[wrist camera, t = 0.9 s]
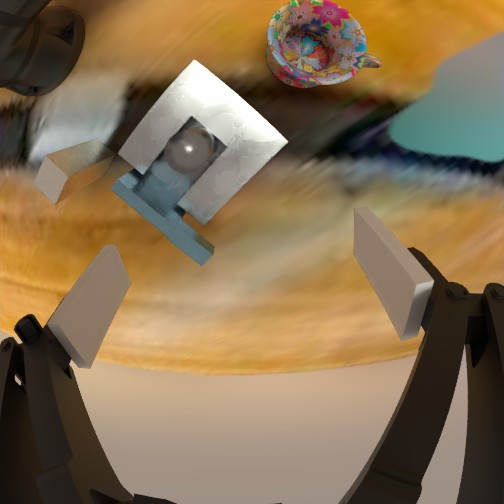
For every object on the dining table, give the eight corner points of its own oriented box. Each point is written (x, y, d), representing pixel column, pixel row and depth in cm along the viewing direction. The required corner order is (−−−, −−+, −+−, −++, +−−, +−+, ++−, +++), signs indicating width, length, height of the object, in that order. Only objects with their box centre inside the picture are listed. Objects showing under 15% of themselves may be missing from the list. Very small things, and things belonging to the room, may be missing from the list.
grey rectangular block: (84, 160, 34) (33, 184, 23) (97, 138, 32) (45, 155, 22) (102, 176, 35) (54, 205, 25) (116, 154, 34) (68, 176, 23)
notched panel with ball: (123, 161, 34) (82, 182, 25) (202, 66, 29) (181, 48, 19) (210, 233, 40) (197, 277, 30) (295, 149, 34) (313, 166, 24)
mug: (257, 84, 30) (260, 73, 21) (268, 20, 26) (274, -11, 16) (350, 104, 31) (385, 104, 21) (359, 42, 26) (396, 24, 17)
